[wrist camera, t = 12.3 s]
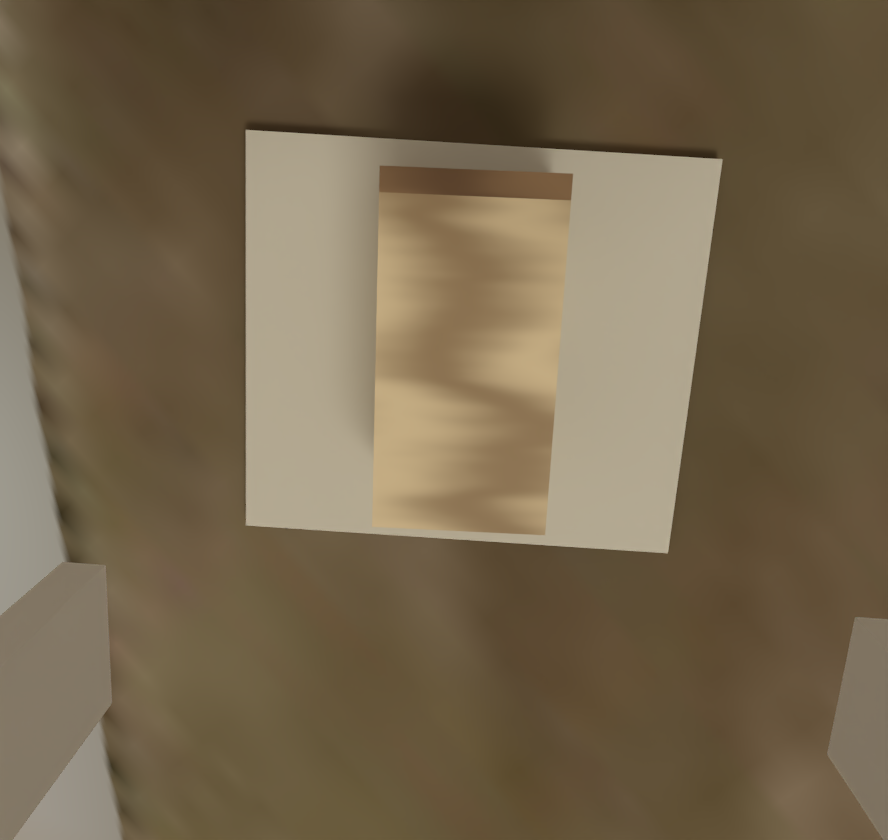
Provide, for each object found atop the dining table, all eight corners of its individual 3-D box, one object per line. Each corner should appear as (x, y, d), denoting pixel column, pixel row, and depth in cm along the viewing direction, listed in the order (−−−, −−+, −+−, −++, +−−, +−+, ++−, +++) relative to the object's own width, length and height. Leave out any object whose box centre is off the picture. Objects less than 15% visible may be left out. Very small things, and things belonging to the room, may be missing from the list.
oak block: (531, 479, 34) (553, 180, 31) (545, 535, 28) (572, 173, 25) (387, 472, 34) (395, 173, 31) (371, 526, 28) (379, 165, 25)
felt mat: (717, 160, 31) (722, 159, 31) (664, 547, 35) (667, 553, 35) (249, 131, 32) (245, 129, 31) (249, 520, 36) (246, 525, 35)
